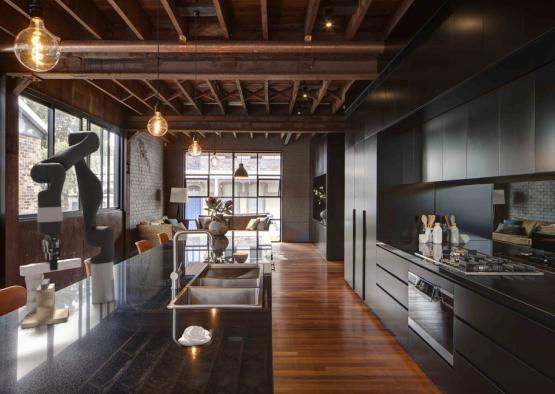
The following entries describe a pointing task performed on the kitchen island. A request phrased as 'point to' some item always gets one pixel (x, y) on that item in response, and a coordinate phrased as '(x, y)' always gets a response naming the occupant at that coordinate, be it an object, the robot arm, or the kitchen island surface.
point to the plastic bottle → (32, 290)
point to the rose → (194, 336)
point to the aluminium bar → (46, 267)
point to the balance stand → (45, 308)
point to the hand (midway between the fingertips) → (52, 269)
